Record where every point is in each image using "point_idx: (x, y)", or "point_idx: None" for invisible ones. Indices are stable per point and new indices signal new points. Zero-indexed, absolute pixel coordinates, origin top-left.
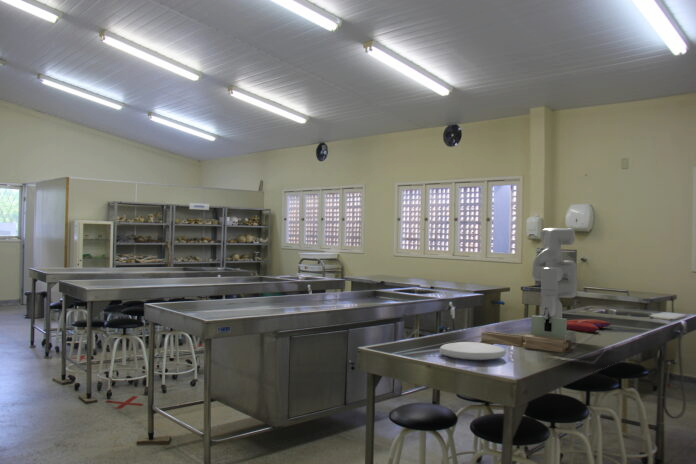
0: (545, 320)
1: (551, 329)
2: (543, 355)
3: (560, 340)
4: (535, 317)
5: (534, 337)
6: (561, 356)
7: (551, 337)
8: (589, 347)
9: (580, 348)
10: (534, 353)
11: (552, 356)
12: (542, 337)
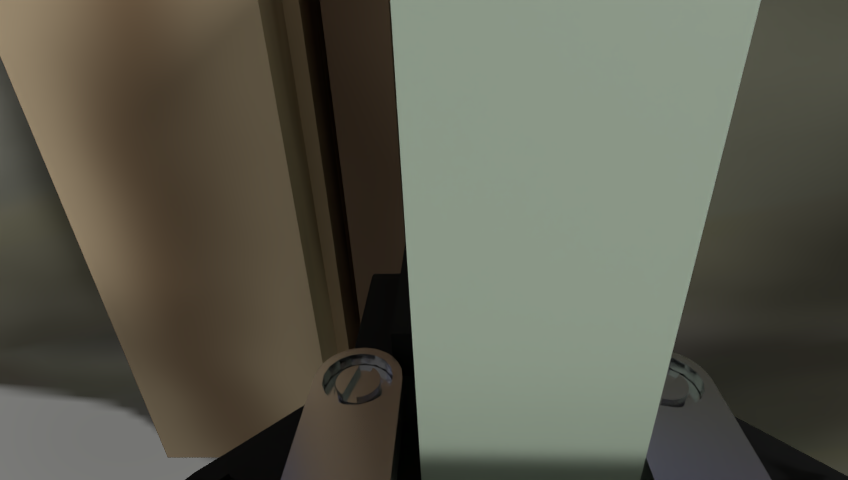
0: (221, 463)
1: None
2: (27, 197)
3: (158, 433)
4: (405, 5)
5: (14, 81)
6: None
7: (283, 311)
8: (837, 435)
9: (730, 389)
10: None
11: (73, 277)
12: (146, 205)
